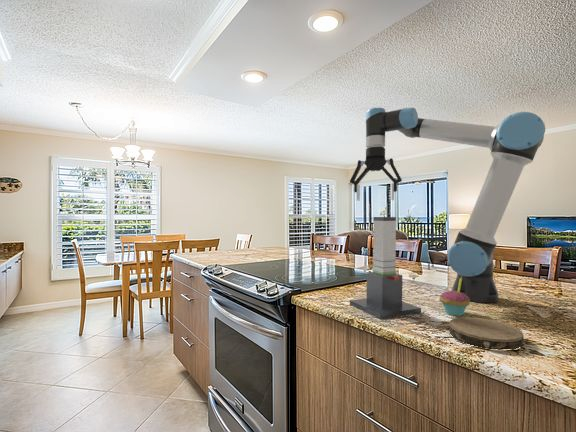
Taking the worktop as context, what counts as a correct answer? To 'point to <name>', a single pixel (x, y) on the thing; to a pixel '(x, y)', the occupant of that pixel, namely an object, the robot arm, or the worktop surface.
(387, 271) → the column
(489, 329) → the wooden slice coaster
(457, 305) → the cupcake
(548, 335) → the worktop surface
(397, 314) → the stand base
